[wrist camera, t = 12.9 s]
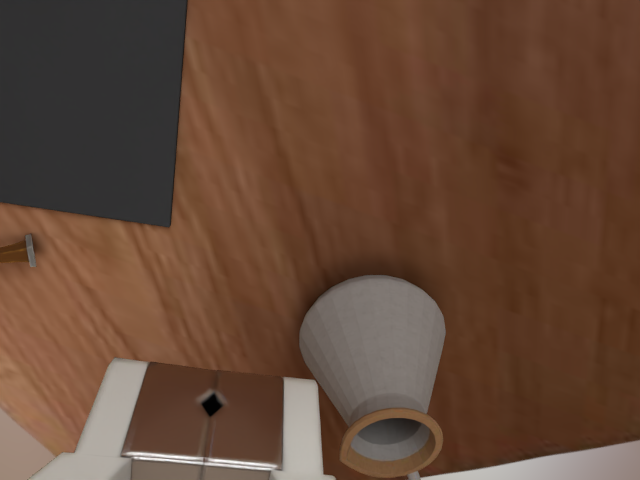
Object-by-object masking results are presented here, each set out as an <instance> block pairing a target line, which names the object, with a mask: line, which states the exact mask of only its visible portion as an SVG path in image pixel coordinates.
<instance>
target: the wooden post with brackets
mask: <svg viewBox="0 0 640 480" xmlns="http://www.w3.org/2000/svg"><path fill="white" fill-rule="evenodd" d="M25 237H26V240H25V241H22V242H19V243H16V244H12V245H8V246H5V247H1V248H0V263H9V262H30V267H36V260H35V253H34V247H33V242H32V237H31V234H30V235H25Z"/></svg>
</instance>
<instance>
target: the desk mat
mask: <svg viewBox="0 0 640 480" xmlns="http://www.w3.org/2000/svg"><path fill="white" fill-rule="evenodd" d="M186 13H187V0H0V202H3V203H10V204H16V205H23V206H30V207H36V208H43V209H50V210H57V211H63V212H70V213H77V214H83V215H90V216H97V217H104V218H110V219H117V220H124V221H130V222H137V223H144V224H151V225H157V226H164V227H170V225H171V213H172V200H173V186H174V173H175V160H176V146H177V133H178V120H179V106H180V93H181V80H182V66H183V53H184V40H185V26H186Z"/></svg>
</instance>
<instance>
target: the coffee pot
mask: <svg viewBox="0 0 640 480" xmlns="http://www.w3.org/2000/svg"><path fill="white" fill-rule="evenodd" d="M445 334H446V332H445V324H444V317H443V315H442V313H441V311H440V309H439V307H438V306H437V304H436V302H435V301H434V300H433V299H432V298H431V297H430V296H429V295H428V294H427V293H425V292H424V291H423V290H422V289H420V288H419V287H417V286H415V285H413V284H411V283H409V282H407V281H405V280H404V279H400V278H396V277H391V276H387V275H366V276H361V277H356V278H352V279H348V280H346V281H344V282H341V283H339V284H337V285H335V286H333V287H331V288H330V289H329V290H327V291H326V292H325V293H323V294H322V295H321V296H320V297H319V298H318V299H317V300H316V302H315V303H314V304H313V305H312V307H311V308H310V309H309V311H308V312H307V313H306V315H305V318H304V320H303V323H302V326H301V328H300V333H299V347H300V350H301V353H302V356H303V359H304V362H305V363H306V365H307V366H308V368H309V369H310V371H311V372H312V374H313V375H314V377H315V378H316V380H317V381H318V382H319V384H320V385H321V387H322V388H323V390H324V391H325V393H326V394H327V396H328V397H329V399H330V400H331V401H332V403H333V404H334V406H335V407H336V409H337V410H338V412H339V413H340V415H341V416H342V418H343V419H344V420H345V422H346V423H347V425H348V426H349V427H348V429H347V430H346V433H345V435H344V437H343V439H342V442H341V447H340V453H339V459H340V461H341V462H343V463H344V464H346V465H347V466H348V467H350V468H352V469H354V470H356V471H358V472H360V473H363V474H366V475H369V476H374V477H380V478H389V477H399V476H404V475H407V476H408V478H409V480H421V479H420V477H419V474H418V471H419V470H420V469H422V468H424V467H425V466H427V465H428V464H430V463H431V462H432V461H433V460H434V459H435V458H436V457H437V455H438V453H439V452H440V450H441V447H442V442H443V436H442V430H441V429H440V427H439V425H438V424H437V422H436V421H435V420H434V419H432V418H431V417H430V416H429V415H427V410H428V406H429V402H430V398H431V394H432V390H433V386H434V381H435V377H436V373H437V369H438V365H439V361H440V357H441V353H442V348H443V344H444V339H445Z"/></svg>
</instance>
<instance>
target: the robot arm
mask: <svg viewBox="0 0 640 480" xmlns="http://www.w3.org/2000/svg"><path fill="white" fill-rule="evenodd" d="M27 480H336V478H335V477H334V476H331V475H323V461H322V444H321V428H320V412H319V396H318V385H317V383H316V381H315V380H309V379H300V378H290V377H283V378H282V377H280V376H270V375H260V374H251V373H241V372H231V371H221V370H217V371H216V370H208V369H201V368H194V367H186V366H179V365H172V364H164V363H157V362H144V361H137V360H130V359H123V358H116V357H115V358H114V359H113V360H112V362H111V363H110V364H109V365H108V368H107V371H106V373H105V376H104V378H103V381H102V383H101V386H100V388H99V391H98V393H97V396H96V399H95V401H94V404H93V406H92V409H91V411H90V414H89V416H88V419H87V421H86V424H85V426H84V429H83V432H82V434H81V437H80V439H79V442H78V444H77V447H76V449H75V452H74V453H67V452H62V453H61V454H59V455H58V456H57V457H56V458H54V459H53V460H52V461H50V462H49V463H48V464H47V465H45V466H44V467H43V468H41V469H40V470H39V471H38V472H36V473H35V474H34V475H32V476H31V477H30V478H29V479H27Z"/></svg>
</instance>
